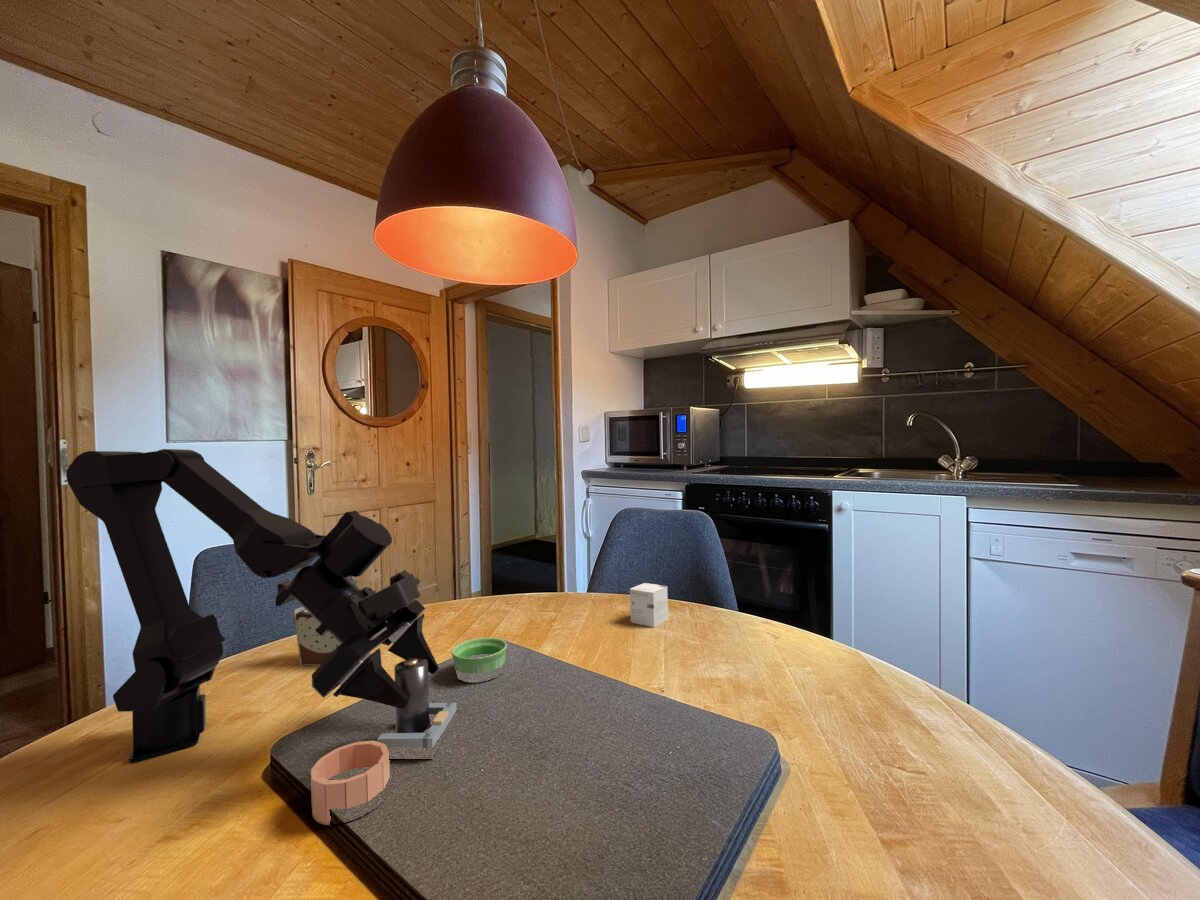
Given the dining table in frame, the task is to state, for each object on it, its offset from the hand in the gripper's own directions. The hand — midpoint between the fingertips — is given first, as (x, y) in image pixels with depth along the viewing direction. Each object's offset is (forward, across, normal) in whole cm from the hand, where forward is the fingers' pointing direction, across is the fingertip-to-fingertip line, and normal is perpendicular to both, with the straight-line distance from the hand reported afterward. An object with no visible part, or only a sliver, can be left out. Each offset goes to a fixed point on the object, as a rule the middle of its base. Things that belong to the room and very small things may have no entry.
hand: (422, 687), depth 62 cm
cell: (+4, 0, +6) cm, 7 cm away
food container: (-14, +26, +24) cm, 38 cm away
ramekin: (+6, +19, +4) cm, 21 cm away
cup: (+2, -11, +7) cm, 13 cm away
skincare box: (+27, +43, -17) cm, 54 cm away
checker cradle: (+4, 0, +6) cm, 7 cm away
